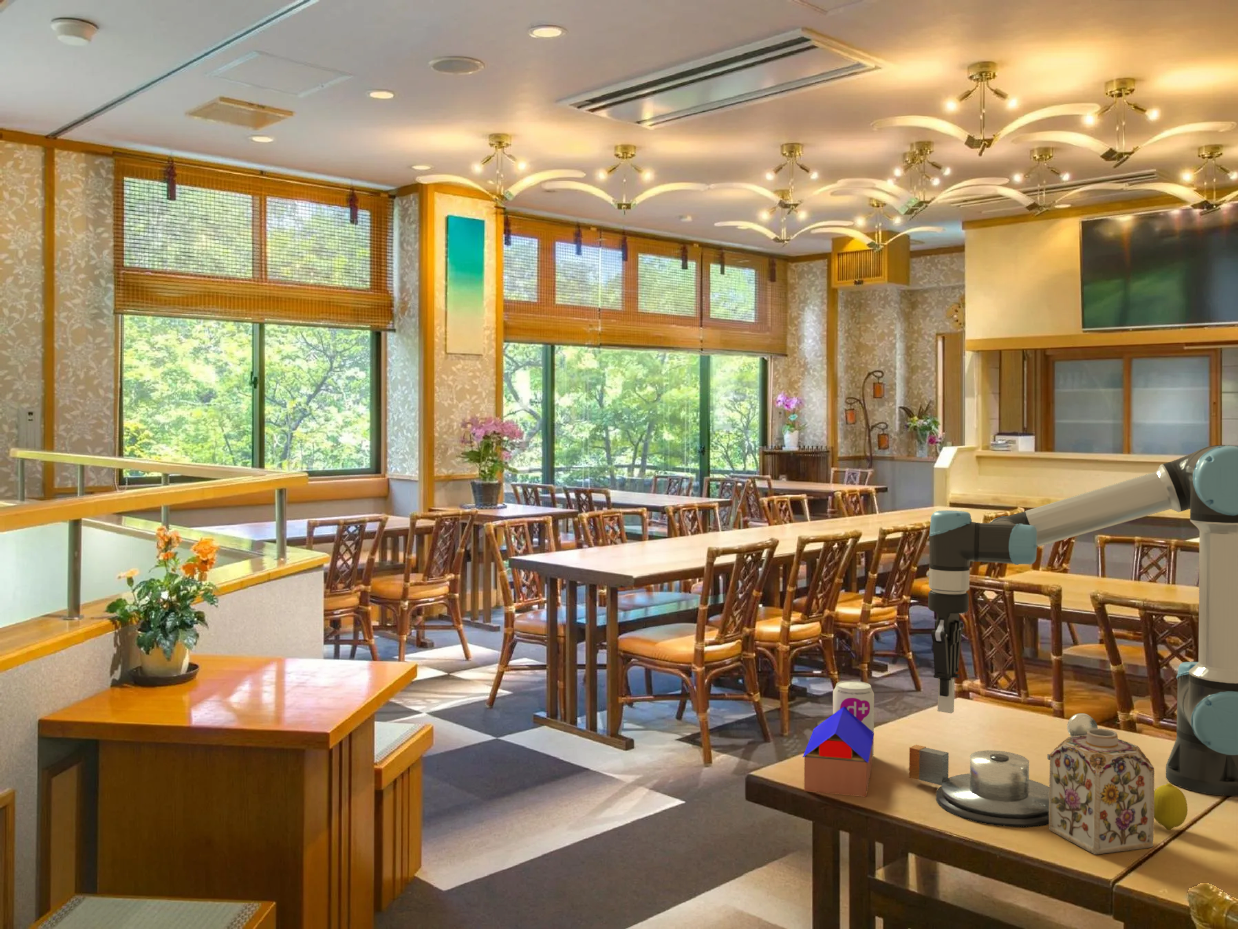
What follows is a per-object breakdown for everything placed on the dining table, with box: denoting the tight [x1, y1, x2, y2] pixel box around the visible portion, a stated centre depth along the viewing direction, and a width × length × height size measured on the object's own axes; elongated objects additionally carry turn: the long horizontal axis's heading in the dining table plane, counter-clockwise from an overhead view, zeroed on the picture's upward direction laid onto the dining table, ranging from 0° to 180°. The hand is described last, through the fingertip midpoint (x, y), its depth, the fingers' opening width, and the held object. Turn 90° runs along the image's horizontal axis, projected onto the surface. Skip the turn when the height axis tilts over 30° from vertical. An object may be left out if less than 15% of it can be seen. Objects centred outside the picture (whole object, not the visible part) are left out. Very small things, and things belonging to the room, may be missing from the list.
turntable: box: [908, 744, 1049, 818], centre depth 197 cm, size 27×20×6 cm
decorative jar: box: [1048, 728, 1155, 856], centre depth 178 cm, size 12×12×18 cm
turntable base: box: [935, 785, 1049, 828], centre depth 194 cm, size 22×22×1 cm
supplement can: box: [832, 680, 875, 758], centre depth 222 cm, size 8×8×15 cm
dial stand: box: [1047, 713, 1099, 761], centre depth 196 cm, size 8×4×16 cm, turn 86°
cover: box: [969, 749, 1030, 801], centre depth 194 cm, size 10×10×6 cm
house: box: [802, 707, 875, 798], centre depth 209 cm, size 12×20×12 cm, turn 164°
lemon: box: [1154, 782, 1188, 831], centre depth 182 cm, size 6×6×8 cm
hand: (945, 711), depth 209 cm, fingers closed
